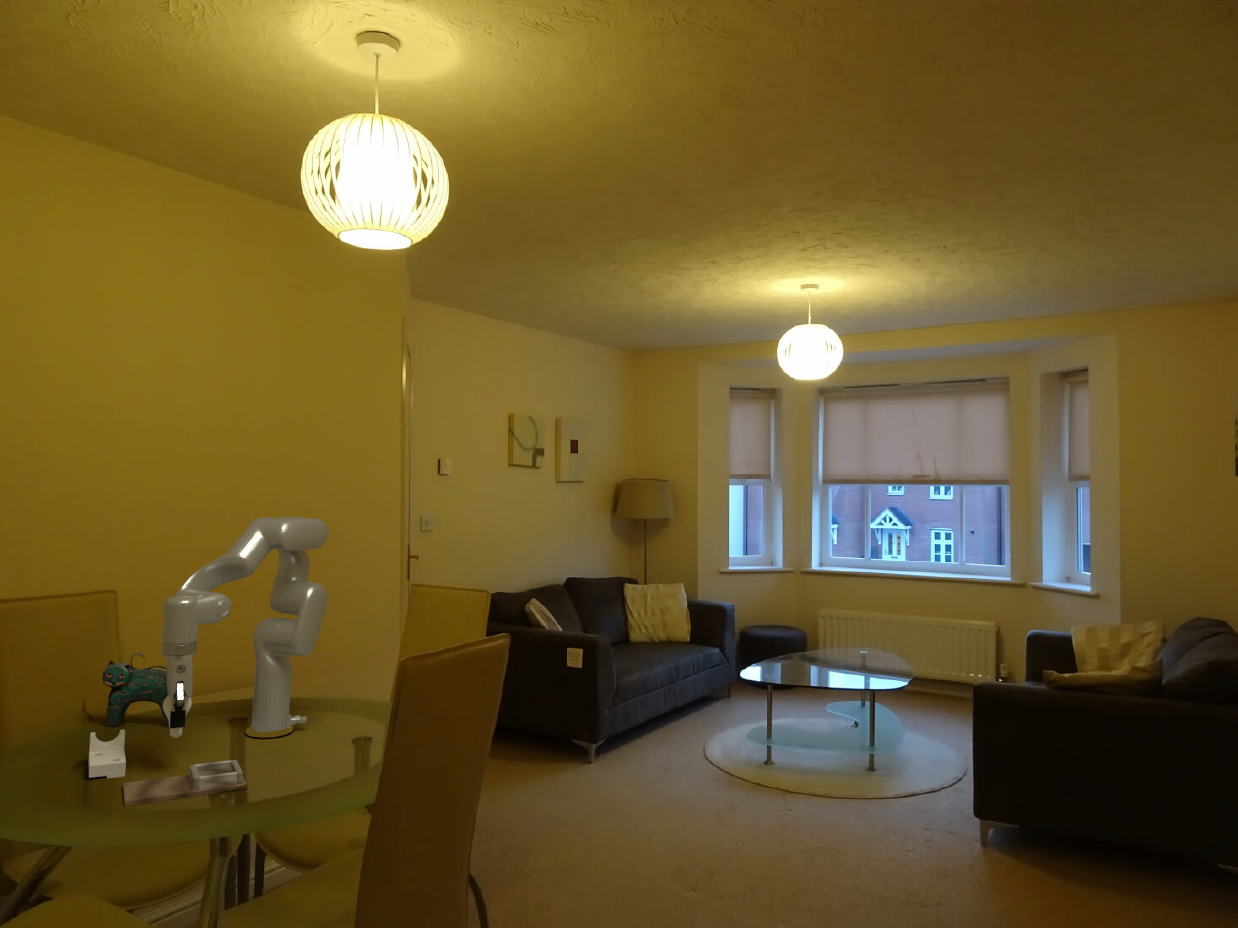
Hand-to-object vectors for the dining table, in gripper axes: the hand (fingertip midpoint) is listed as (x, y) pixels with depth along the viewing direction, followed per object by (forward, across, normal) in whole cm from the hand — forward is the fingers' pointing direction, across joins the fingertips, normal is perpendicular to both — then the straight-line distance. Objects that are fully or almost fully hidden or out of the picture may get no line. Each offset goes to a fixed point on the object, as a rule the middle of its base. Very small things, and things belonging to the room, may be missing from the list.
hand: (176, 722), depth 199 cm
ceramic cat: (+12, +41, +5) cm, 43 cm away
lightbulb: (+4, 0, 0) cm, 4 cm away
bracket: (+11, +5, +14) cm, 19 cm away
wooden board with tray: (+11, -15, -1) cm, 18 cm away
